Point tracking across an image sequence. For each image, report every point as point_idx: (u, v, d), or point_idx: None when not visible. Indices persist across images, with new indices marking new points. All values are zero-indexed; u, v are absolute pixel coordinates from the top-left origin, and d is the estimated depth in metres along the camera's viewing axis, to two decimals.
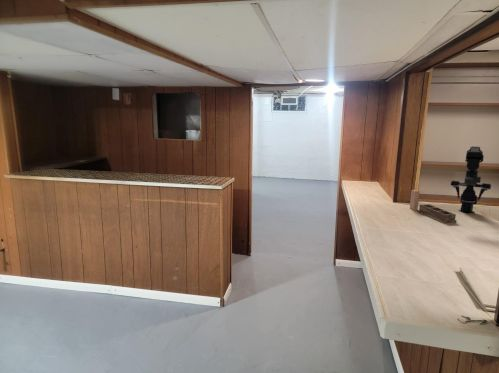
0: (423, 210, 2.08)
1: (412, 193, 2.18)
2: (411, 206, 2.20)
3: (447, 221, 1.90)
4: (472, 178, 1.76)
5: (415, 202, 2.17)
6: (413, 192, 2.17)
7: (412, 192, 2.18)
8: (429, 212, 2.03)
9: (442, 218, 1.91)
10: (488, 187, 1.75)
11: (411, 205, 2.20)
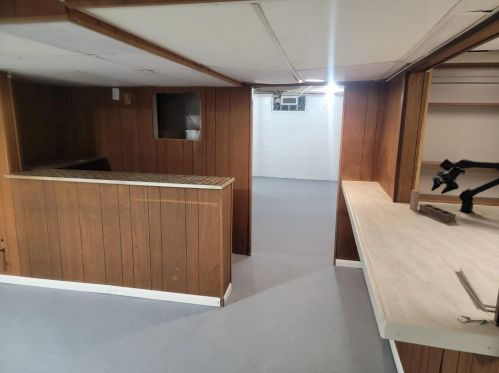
0: (423, 210, 2.08)
1: (412, 193, 2.18)
2: (411, 206, 2.20)
3: (447, 221, 1.90)
4: None
5: (415, 202, 2.17)
6: (413, 192, 2.17)
7: (412, 192, 2.18)
8: (429, 212, 2.03)
9: (442, 218, 1.91)
10: (451, 182, 2.05)
11: (411, 205, 2.20)
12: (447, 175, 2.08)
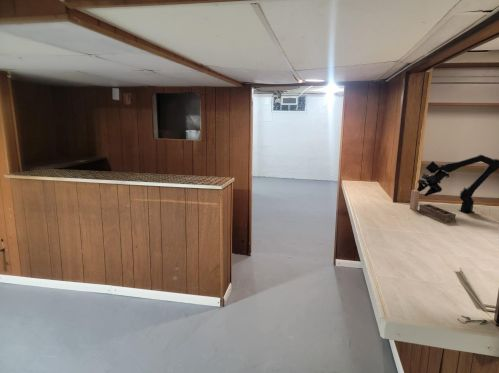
0: (423, 210, 2.08)
1: (412, 193, 2.18)
2: (411, 206, 2.20)
3: (447, 221, 1.90)
4: (428, 175, 2.16)
5: (415, 202, 2.17)
6: (413, 192, 2.17)
7: (412, 192, 2.18)
8: (429, 212, 2.03)
9: (442, 218, 1.91)
10: (434, 185, 2.09)
11: (411, 205, 2.20)
12: (431, 178, 2.12)
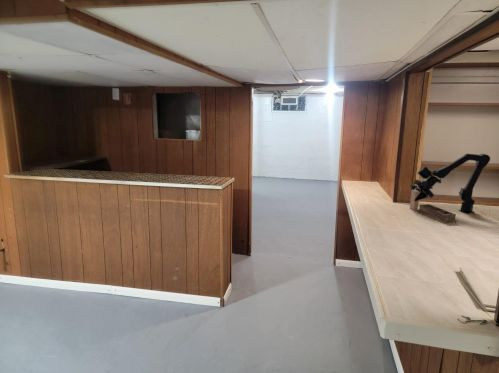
0: (423, 210, 2.08)
1: (412, 193, 2.18)
2: (411, 206, 2.20)
3: (447, 221, 1.90)
4: (420, 181, 2.16)
5: (415, 202, 2.17)
6: (413, 192, 2.17)
7: (412, 192, 2.18)
8: (429, 212, 2.03)
9: (442, 218, 1.91)
10: (426, 191, 2.09)
11: (411, 205, 2.20)
12: (423, 183, 2.12)
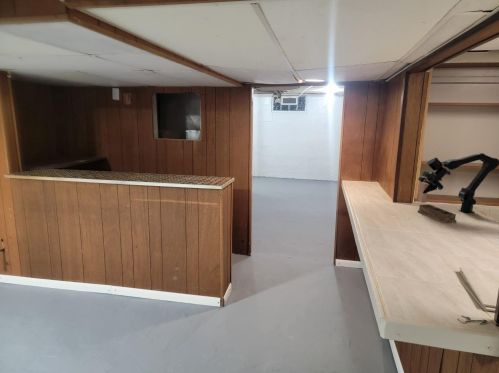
0: (423, 210, 2.08)
1: (420, 185, 2.11)
2: (419, 199, 2.12)
3: (447, 221, 1.90)
4: (428, 172, 2.08)
5: (424, 195, 2.09)
6: (421, 184, 2.10)
7: (420, 184, 2.11)
8: (429, 212, 2.03)
9: (442, 218, 1.91)
10: (435, 182, 2.02)
11: (419, 198, 2.12)
12: (432, 175, 2.05)
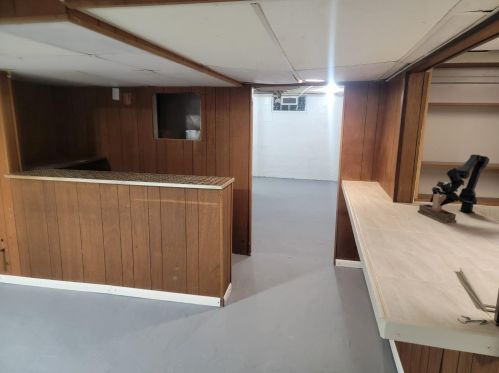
0: (423, 210, 2.08)
1: (435, 198, 2.00)
2: None
3: (447, 221, 1.90)
4: (443, 183, 1.97)
5: (438, 208, 1.98)
6: (436, 197, 1.99)
7: (435, 197, 2.00)
8: (429, 212, 2.03)
9: (442, 218, 1.91)
10: (451, 194, 1.91)
11: None
12: (447, 186, 1.94)
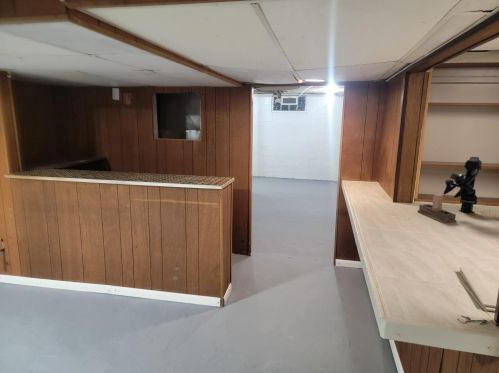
0: (423, 210, 2.08)
1: (435, 198, 2.00)
2: None
3: (447, 221, 1.90)
4: (457, 175, 1.97)
5: (438, 208, 1.98)
6: (436, 197, 1.99)
7: (435, 197, 2.00)
8: (429, 212, 2.03)
9: (442, 218, 1.91)
10: (465, 186, 1.91)
11: None
12: (461, 178, 1.94)
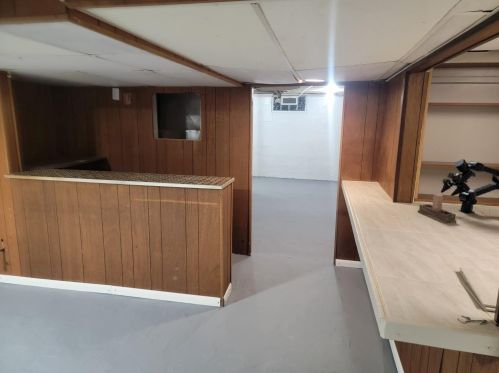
0: (423, 210, 2.08)
1: (435, 198, 2.00)
2: None
3: (447, 221, 1.90)
4: (454, 174, 2.06)
5: (438, 208, 1.98)
6: (436, 197, 1.99)
7: (435, 197, 2.00)
8: (429, 212, 2.03)
9: (442, 218, 1.91)
10: (462, 184, 1.99)
11: None
12: (458, 177, 2.02)
